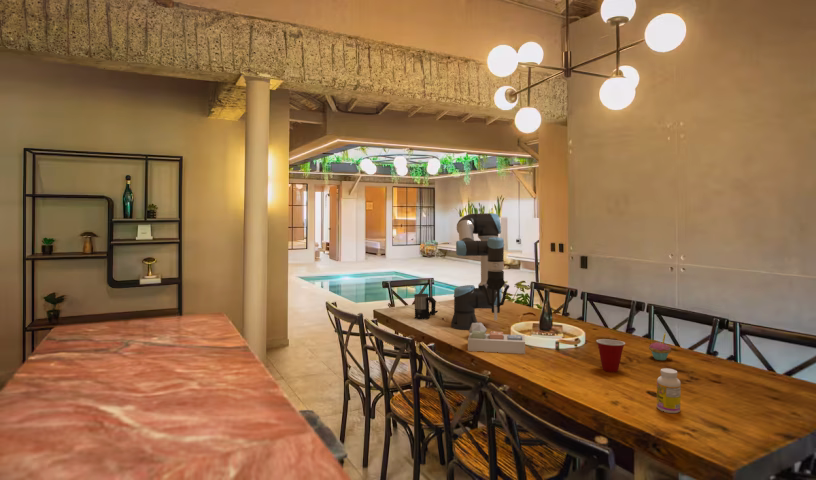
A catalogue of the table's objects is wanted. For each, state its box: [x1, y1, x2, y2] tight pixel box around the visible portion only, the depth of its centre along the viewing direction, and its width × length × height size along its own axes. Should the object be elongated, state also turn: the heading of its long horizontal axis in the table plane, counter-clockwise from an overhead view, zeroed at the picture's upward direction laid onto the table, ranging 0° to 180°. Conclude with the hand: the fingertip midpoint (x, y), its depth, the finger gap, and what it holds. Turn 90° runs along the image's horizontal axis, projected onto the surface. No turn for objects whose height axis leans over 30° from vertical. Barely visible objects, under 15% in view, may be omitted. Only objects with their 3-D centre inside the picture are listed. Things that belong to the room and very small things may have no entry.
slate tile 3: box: [507, 334, 522, 340], centre depth 215 cm, size 6×6×4 cm
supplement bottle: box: [656, 367, 682, 414], centre depth 147 cm, size 7×7×13 cm
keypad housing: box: [467, 333, 526, 355], centre depth 217 cm, size 12×26×6 cm, turn 78°
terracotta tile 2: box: [489, 330, 504, 340], centre depth 217 cm, size 6×6×4 cm
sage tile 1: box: [472, 331, 486, 339], centre depth 219 cm, size 6×6×4 cm
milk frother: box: [413, 293, 439, 320], centre depth 287 cm, size 14×16×15 cm
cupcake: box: [648, 331, 672, 361], centre depth 199 cm, size 9×8×12 cm
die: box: [468, 322, 488, 334], centre depth 237 cm, size 8×9×10 cm
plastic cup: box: [595, 338, 626, 373], centre depth 185 cm, size 11×11×12 cm
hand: (495, 319), depth 217 cm, fingers closed
